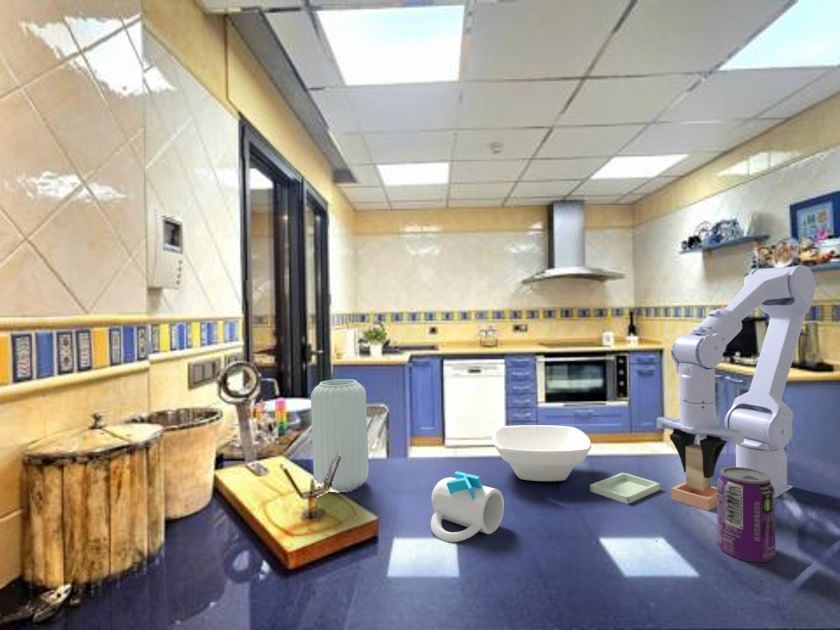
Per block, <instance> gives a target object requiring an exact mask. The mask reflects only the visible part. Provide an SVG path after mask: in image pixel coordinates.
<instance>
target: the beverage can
mask: <svg viewBox="0 0 840 630" xmlns="http://www.w3.org/2000/svg"><path fill="white" fill-rule="evenodd" d="M770 480H771V477H770V476H769V475H768V474H766V473H764V472H762V471H758V470H755V469H750V468H744V467H736V466H727V467H722V468H721V469H720V475H719V477H718V479H717V481H716V488H717V507H716V509H717V515H716V516H717V518H716V519H717V523H716V524H717V546H718V548H719V549H720V550H722V552H724V553H726V554H728V555H730V556H732V557H734V558H736V559H739V560H742V561H747V562H748V561H749V562H753V563H754V562H755V563H766V562H771V561H773V560H774V559H775V558H776V506H775V505H776V498H775V490H774V488H773V486H772V484H771V482H770Z"/></svg>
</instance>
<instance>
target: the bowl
mask: <svg viewBox="0 0 840 630" xmlns="http://www.w3.org/2000/svg"><path fill="white" fill-rule="evenodd" d="M491 441H492V443H493V445H494V447H495V449H496V451H497V452H498V453H499V456H500V458H502V459H501V460H503V461H504V462H505V463H509V465H510V466H511V468H512V470H513V472H514V474H515V475H516V476H517V477H518V479H520V480H525V481H533V482H534V481H535V482H557V481H558V482H561V481H566V480H567V478H568V477H569V476H570V474H571V472H572V471H573V469H574V468H575V466H576V465H581V464H582V463H583V461H584V460H585V459H586V457H587V455H588V454H589V452H590V451H591V449H592V441H591V440H590V437H589V436H588V435H587V434H586V433H585V432H583V431H582V430H581V429H578V428H576V427H574V426H565V425H564V426H563V425H547V424H546V425H545V424H544V425H541V424H539V425H537V424H536V425H535V424H534V425H533V424H529V425H528V424H527V425H526V424H524V425H523V424H521V425H505V426H499V427H497V428H496V429H495V430H494V431H493V433H492V436H491Z"/></svg>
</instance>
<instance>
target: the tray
mask: <svg viewBox="0 0 840 630" xmlns="http://www.w3.org/2000/svg"><path fill="white" fill-rule="evenodd" d="M660 490H661V483H660V482H656V481H653V480H650V479H646V478H643V477H639V476H636V475H633V474H629V473H625V472H620V473H618V474H615V475H612V476H610V477H607V478H605V479H603V480H600V481H596V482H593V483H590V485H589V492H591V493H595V494H597V495H601V496H603V497H605V498H609V499H612V500H615V501H617V502H620V503H623V504H624V505H630V504H631V503H634V502H636V501H638V500H640V499H642V498H644V497H647V496H649V495H651V494H653V493H656V492H658V491H660Z"/></svg>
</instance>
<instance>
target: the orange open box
mask: <svg viewBox="0 0 840 630" xmlns="http://www.w3.org/2000/svg"><path fill="white" fill-rule="evenodd" d="M670 495H671V496H670V498H671V500H673V501H676V502H679V503H682V504H685V505H689V506H691V507H694V508H697V509H701V510H703V511H707V512H709V511H711V510H713V509H715V508H717V486H712V485H711V488H709V489H707V490H705V491H699V490H696V489H692V488H689V487H686V481H685V482H683V483H680V484H677V485H676V486H674V487H673V486H672V487H671V488H670Z"/></svg>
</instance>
